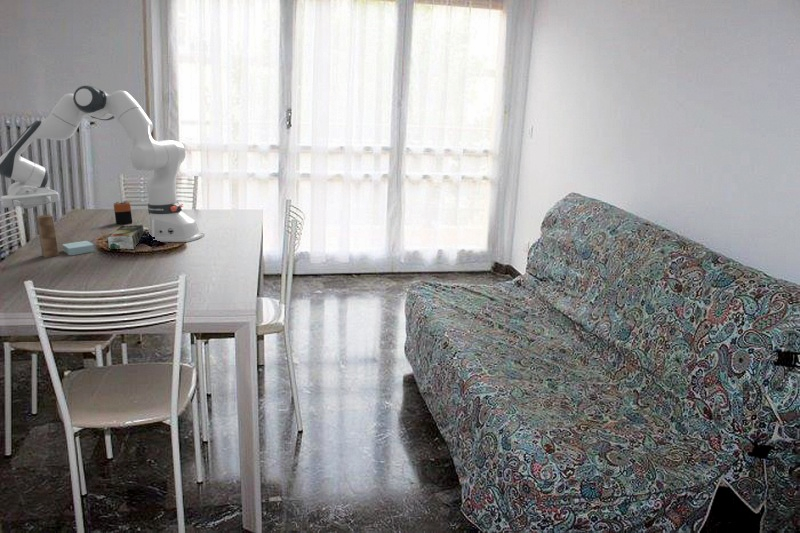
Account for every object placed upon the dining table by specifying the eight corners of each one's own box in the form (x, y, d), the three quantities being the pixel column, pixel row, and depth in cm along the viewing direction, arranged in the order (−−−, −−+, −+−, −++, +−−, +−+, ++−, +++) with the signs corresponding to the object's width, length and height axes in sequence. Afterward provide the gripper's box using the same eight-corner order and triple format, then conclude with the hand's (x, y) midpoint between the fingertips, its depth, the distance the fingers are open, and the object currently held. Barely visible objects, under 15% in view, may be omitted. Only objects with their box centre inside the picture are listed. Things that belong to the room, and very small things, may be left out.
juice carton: (134, 250, 264) (132, 235, 262) (107, 252, 263) (105, 236, 261) (145, 238, 283) (144, 224, 282) (121, 240, 282) (119, 225, 280)
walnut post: (55, 253, 261) (49, 214, 256) (58, 255, 257) (52, 216, 253) (42, 255, 258) (36, 216, 254) (45, 257, 255) (39, 218, 250)
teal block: (87, 248, 270) (86, 240, 269) (94, 252, 263) (93, 244, 262) (63, 251, 264) (62, 244, 263) (69, 256, 258) (68, 248, 257)
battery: (132, 223, 310) (129, 201, 307) (116, 224, 307) (113, 202, 305) (131, 221, 314) (129, 199, 311) (115, 223, 311) (113, 201, 308)
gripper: (-5, 192, 265) (2, 197, 254) (52, 186, 277) (61, 191, 267) (-2, 208, 267) (5, 213, 256) (55, 201, 279) (64, 207, 269)
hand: (34, 202), depth 262 cm, fingers open, 8 cm apart
